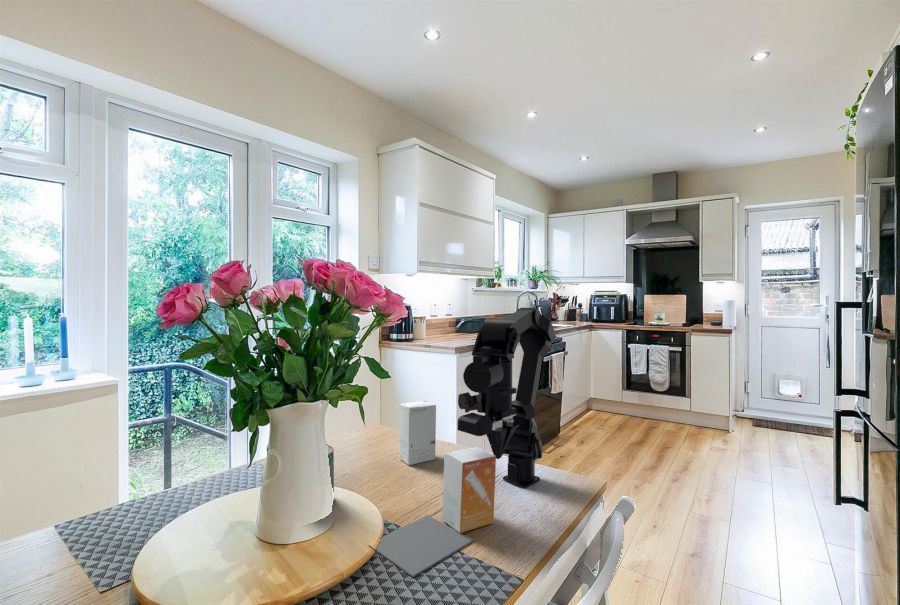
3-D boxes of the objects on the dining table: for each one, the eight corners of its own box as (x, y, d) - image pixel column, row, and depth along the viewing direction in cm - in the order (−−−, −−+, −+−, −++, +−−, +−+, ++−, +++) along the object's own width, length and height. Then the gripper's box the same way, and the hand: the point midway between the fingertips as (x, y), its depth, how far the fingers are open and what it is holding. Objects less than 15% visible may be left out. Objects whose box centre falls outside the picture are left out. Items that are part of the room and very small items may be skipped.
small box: (460, 534, 79) (462, 462, 79) (441, 519, 84) (443, 452, 84) (494, 523, 83) (496, 455, 83) (474, 509, 88) (476, 445, 88)
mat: (427, 516, 86) (427, 515, 86) (473, 541, 77) (473, 539, 77) (368, 545, 76) (368, 543, 76) (412, 577, 67) (412, 575, 67)
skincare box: (408, 466, 111) (408, 408, 110) (398, 458, 116) (398, 403, 115) (436, 459, 115) (437, 403, 115) (425, 452, 120) (425, 399, 120)
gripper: (496, 371, 102) (495, 438, 102) (438, 383, 88) (437, 459, 89) (536, 378, 94) (535, 450, 94) (479, 392, 81) (479, 476, 81)
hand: (497, 458), depth 90 cm, fingers closed
